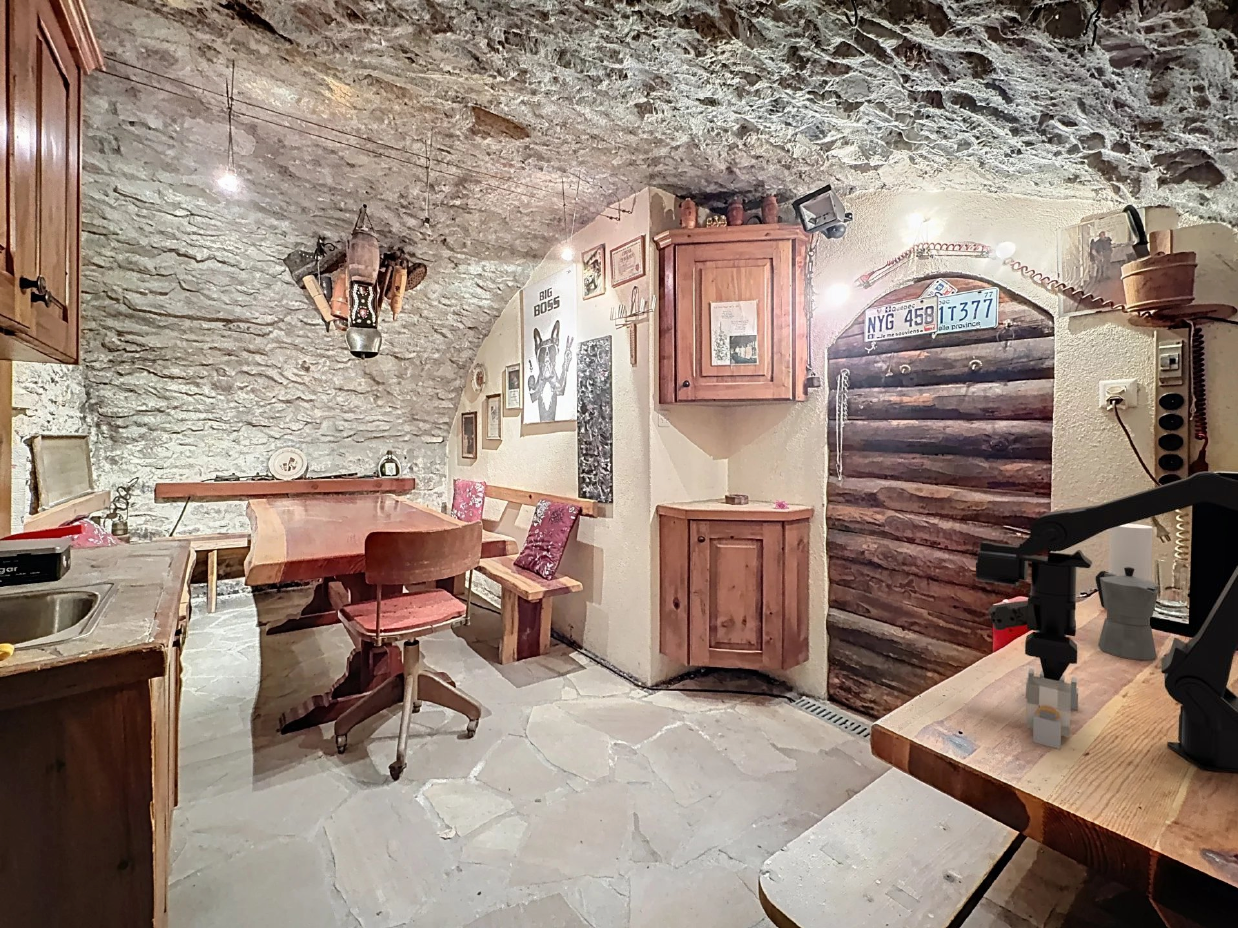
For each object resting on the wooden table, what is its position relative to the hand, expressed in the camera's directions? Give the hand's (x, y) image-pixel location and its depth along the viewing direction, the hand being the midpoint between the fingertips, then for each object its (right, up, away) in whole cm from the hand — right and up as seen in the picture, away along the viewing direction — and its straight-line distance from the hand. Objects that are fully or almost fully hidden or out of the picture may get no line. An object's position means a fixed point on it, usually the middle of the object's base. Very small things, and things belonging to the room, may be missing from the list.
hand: (1050, 686), depth 92 cm
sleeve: (-4, -5, -4) cm, 8 cm away
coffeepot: (+37, -4, +29) cm, 47 cm away
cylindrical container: (+46, -3, +38) cm, 60 cm away
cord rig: (-1, -5, -1) cm, 5 cm away
